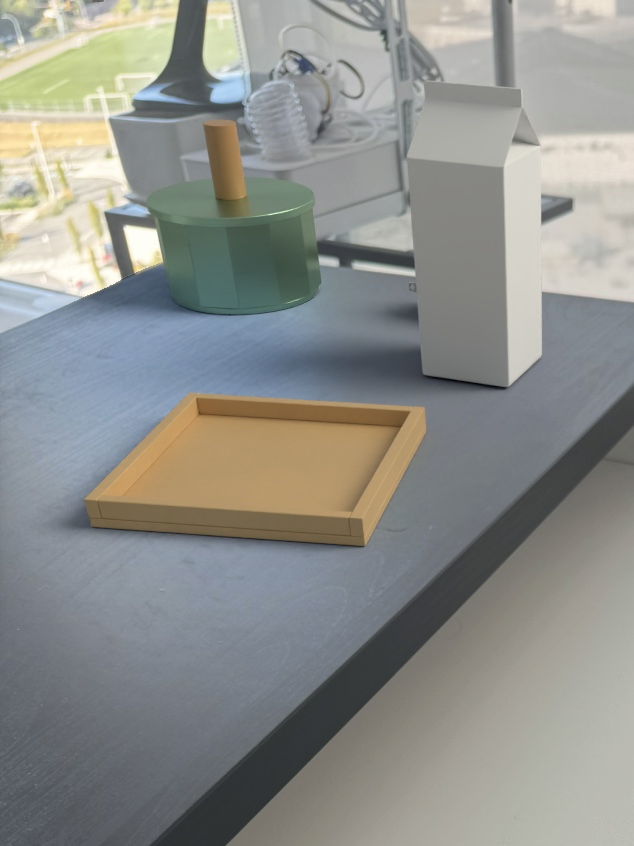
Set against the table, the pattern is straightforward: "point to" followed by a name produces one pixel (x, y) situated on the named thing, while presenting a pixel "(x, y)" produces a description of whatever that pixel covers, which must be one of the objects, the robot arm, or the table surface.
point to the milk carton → (476, 233)
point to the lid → (229, 190)
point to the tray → (263, 470)
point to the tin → (241, 265)
